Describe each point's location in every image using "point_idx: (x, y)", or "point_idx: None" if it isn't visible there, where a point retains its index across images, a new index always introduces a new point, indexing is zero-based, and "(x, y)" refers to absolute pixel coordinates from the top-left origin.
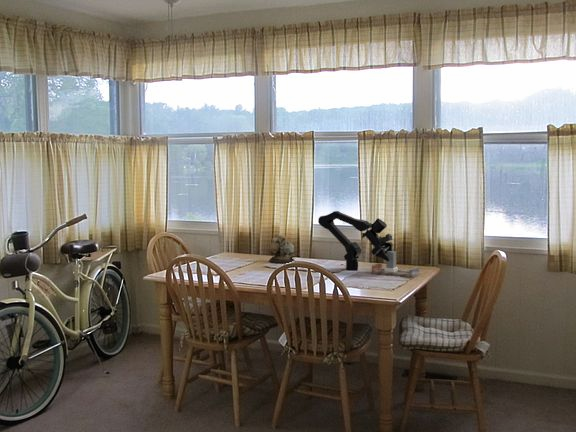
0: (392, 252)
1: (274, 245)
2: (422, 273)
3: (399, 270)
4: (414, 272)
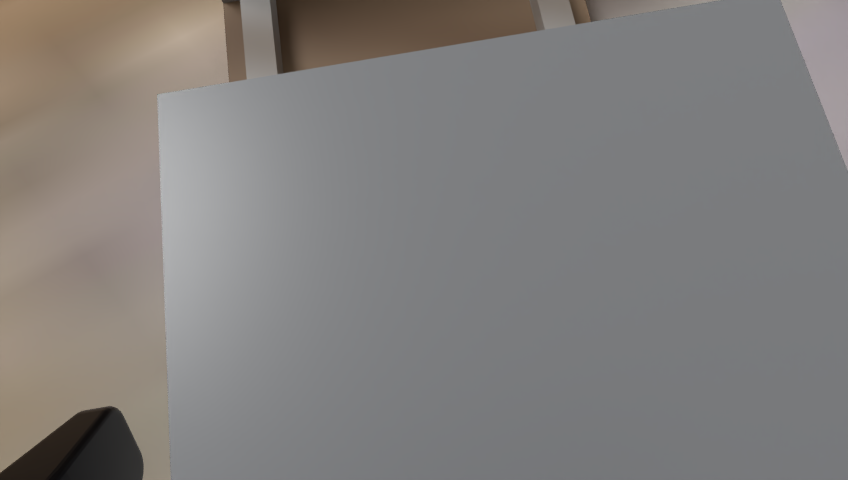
0: (801, 76)
1: None
2: (38, 4)
3: None
4: None
